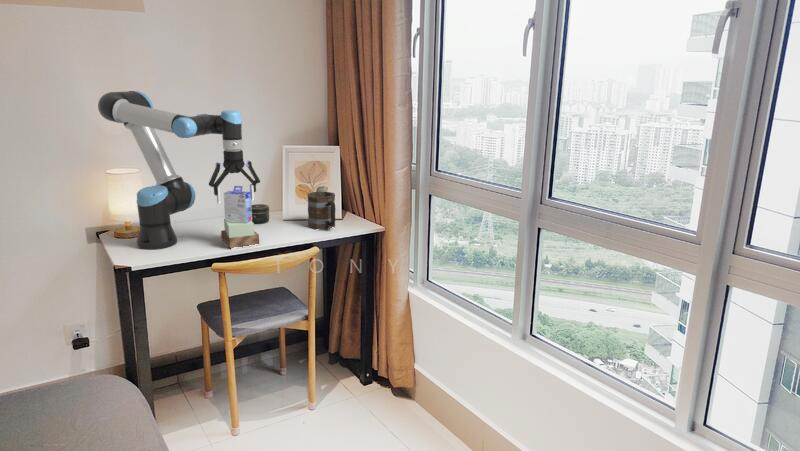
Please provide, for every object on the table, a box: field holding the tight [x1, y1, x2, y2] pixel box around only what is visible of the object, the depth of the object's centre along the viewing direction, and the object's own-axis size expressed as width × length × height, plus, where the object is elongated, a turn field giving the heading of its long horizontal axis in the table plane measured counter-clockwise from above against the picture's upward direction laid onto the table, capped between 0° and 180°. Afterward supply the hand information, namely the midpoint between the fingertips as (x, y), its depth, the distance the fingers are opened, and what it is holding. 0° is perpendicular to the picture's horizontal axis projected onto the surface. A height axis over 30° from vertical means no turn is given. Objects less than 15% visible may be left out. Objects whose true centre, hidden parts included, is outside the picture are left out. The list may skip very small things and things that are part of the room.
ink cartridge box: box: [223, 185, 252, 223], centre depth 230 cm, size 10×6×14 cm, turn 80°
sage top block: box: [223, 218, 255, 238], centre depth 232 cm, size 10×12×5 cm
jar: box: [251, 203, 270, 225], centre depth 266 cm, size 10×10×8 cm
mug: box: [307, 191, 337, 230], centre depth 257 cm, size 20×14×15 cm
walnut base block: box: [220, 229, 260, 249], centre depth 234 cm, size 12×13×5 cm
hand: (235, 201), depth 230 cm, fingers open, 13 cm apart
